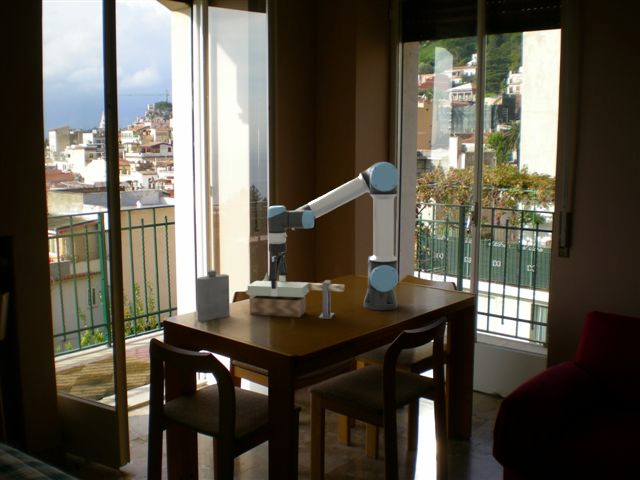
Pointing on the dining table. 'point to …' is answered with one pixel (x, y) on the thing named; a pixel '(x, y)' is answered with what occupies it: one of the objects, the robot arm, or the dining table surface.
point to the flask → (212, 296)
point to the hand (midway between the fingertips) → (278, 293)
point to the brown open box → (277, 306)
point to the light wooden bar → (330, 287)
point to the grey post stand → (326, 301)
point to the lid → (279, 288)
